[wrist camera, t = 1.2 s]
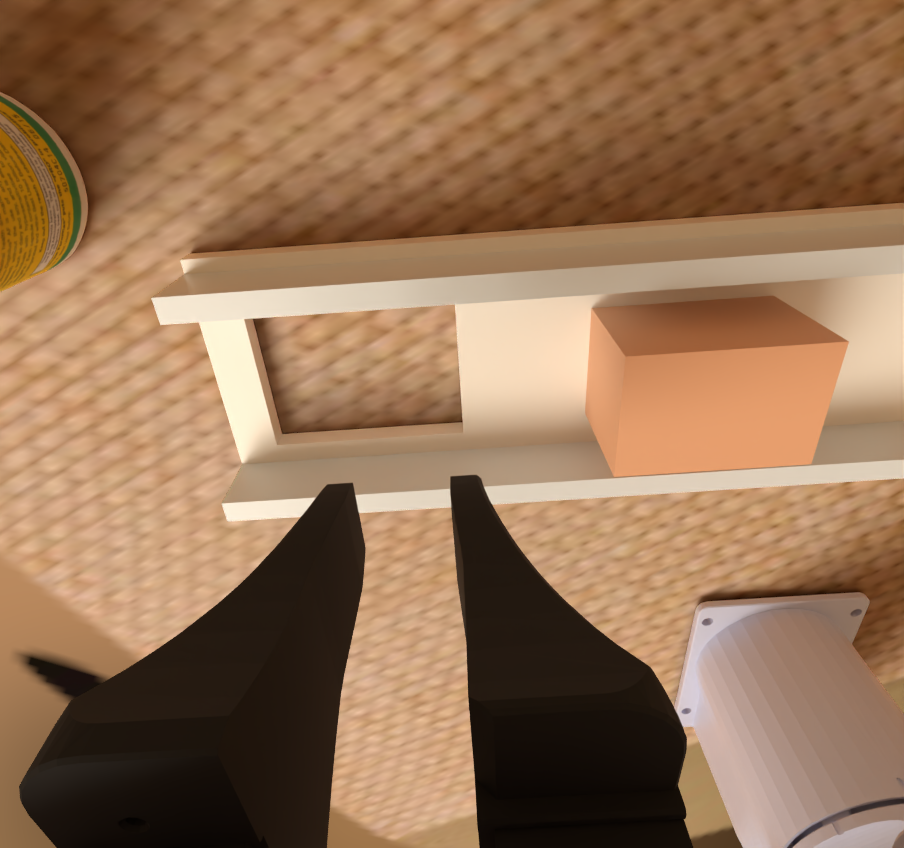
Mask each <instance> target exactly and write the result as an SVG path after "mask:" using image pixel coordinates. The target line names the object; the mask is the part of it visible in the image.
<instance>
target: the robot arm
mask: <svg viewBox="0 0 904 848" xmlns="http://www.w3.org/2000/svg"><path fill="white" fill-rule="evenodd" d="M450 497H451V509H452V521H453V533H454V545H455V557H456V569H457V581H458V588H459V595H460V602H461V608H462V615H463V622H464V628H465V635H466V642H467V670H468V698H469V710H470V723H471V735H472V747H473V759H474V772H475V787H476V805H477V824H478V833H479V845H480V848H693V846H692V843H691V840H690V837H689V834H688V831H687V828H686V825H685V822H684V819H685V818H686V808H685V805H684V802H683V799H682V796H681V793H680V790H679V788H678V782H679V778H680V774H681V770H682V766H683V762H684V758H685V754H686V746H687V737H686V735H685V733H684V729H683V727H694V729H695V732H696V734H697V737H698V739H699V742H700V744H701V747H702V749H703V752H704V754H705V757H706V759H707V762H708V764H709V767H710V769H711V772H712V774H713V777H714V779H715V782H716V784H717V787H718V789H719V792H720V794H721V797H722V799H723V802H724V804H725V807H726V809H727V812H728V814H729V817H730V819H731V822H732V824H733V827H734V829H735V832H736V834H737V836H738V838H739V840H740V842H741V844H742V846H743V848H904V713H903V712H902V711H901V709H900V708H899V707H898V705H897V704H896V703H895V701H894V700H893V699H892V697H891V696H890V695H889V693H888V692H887V691H886V689H885V688H884V687H883V685H882V684H881V683H880V681H879V680H878V679H877V677H876V676H875V675H874V673H873V672H872V671H871V669H870V668H869V667H868V665H867V664H866V663H865V661H864V660H863V659H862V657H861V656H860V655H859V653H858V652H857V651H856V649H855V648H854V647H853V645H852V643H853V641H854V638H855V636H856V634H857V631H858V629H859V627H860V625H861V622H862V620H863V618H864V615H865V613H866V611H867V609H868V606H869V604H870V601H869V599H868V598H867V597H866V595H865V594H863V593H860V592H853V593H836V594H820V595H803V596H787V597H770V598H754V599H738V600H721V601H707V602H703V603H701V604H699V605H698V606H697V608H696V610H695V615H694V620H693V624H692V629H691V633H690V638H689V643H688V647H687V652H686V656H685V661H684V666H683V670H682V675H681V679H680V684H679V688H678V693H677V698H676V702H675V707H673V705H672V703H671V701H670V699H669V697H668V695H667V693H666V692H665V690H664V688H663V686H662V685H661V683H660V681H659V680H658V678H657V677H656V675H655V673H654V672H653V670H652V669H651V667H649V666H648V665H646V664H645V663H644V662H642V661H641V660H639V659H638V658H636V657H635V656H633V655H632V654H630V653H629V652H627V651H626V650H624V649H623V648H621V647H620V646H618V645H617V644H616V643H614V642H613V641H612V640H610V639H609V638H608V637H607V636H605V635H604V634H603V633H602V632H600V631H599V630H598V629H596V628H595V627H594V626H593V625H592V624H590V623H589V622H588V621H587V620H586V619H585V618H584V617H583V616H582V615H580V614H579V613H578V612H577V611H576V610H575V609H574V608H573V607H572V606H571V605H569V604H568V603H567V602H566V601H565V600H564V599H563V598H562V597H561V596H560V595H559V594H558V593H557V592H556V591H555V590H554V589H553V588H552V587H551V586H550V585H549V584H548V582H547V581H546V580H545V579H544V578H543V577H542V576H541V575H540V573H539V572H538V571H537V570H536V569H535V568H534V566H533V565H532V564H531V563H530V561H529V560H528V559H527V558H526V556H525V555H524V554H523V552H522V551H521V550H520V548H519V547H518V546H517V544H516V543H515V541H514V540H513V538H512V537H511V536H510V534H509V532H508V531H507V529H506V528H505V526H504V524H503V523H502V521H501V520H500V518H499V516H498V515H497V513H496V511H495V509H494V507H493V506H492V504H491V502H490V500H489V498H488V495H487V493H486V491H485V488H484V486H483V483H482V479H481V478H480V477H479V476H478V475H462V476H450ZM364 563H365V543H364V538H363V533H362V528H361V522H360V517H359V512H358V506H357V501H356V496H355V490H354V485H353V483H339V484H327V485H326V486H325V487H324V488H323V489H322V491H321V492H320V493H319V494H318V496H317V497H316V498H315V500H314V501H313V502H312V504H311V505H310V506H309V507H308V509H307V510H306V511H305V513H304V514H303V515H302V516H301V518H300V519H299V520H298V521H297V523H296V524H295V525H294V526H293V527H292V529H291V530H290V531H289V532H288V533H287V535H286V536H285V537H284V538H283V539H282V541H281V542H280V543H279V544H278V545H277V546H276V547H275V549H274V550H273V551H272V552H271V553H270V554H269V555H268V556H267V557H266V558H265V559H264V560H263V561H262V563H261V564H260V565H259V566H258V567H257V568H256V569H255V570H254V571H253V572H252V573H251V574H250V575H249V576H248V577H247V578H246V579H245V580H244V581H243V582H242V583H241V584H240V585H239V586H238V587H236V588H235V589H234V590H233V591H232V592H231V593H230V594H229V595H227V596H226V597H225V598H224V599H223V600H222V601H221V602H219V603H218V604H217V605H216V606H215V607H213V608H212V609H211V610H209V611H208V612H207V613H206V614H204V615H203V616H202V617H201V618H199V619H198V620H197V621H195V622H194V623H193V624H192V625H190V626H189V627H188V628H186V629H185V630H184V631H183V632H181V633H180V634H178V635H177V636H176V637H174V638H173V639H171V640H170V641H168V642H167V643H166V644H164V645H163V646H161V647H160V648H158V649H157V650H155V651H154V652H152V653H151V654H149V655H148V656H146V657H145V658H143V659H142V660H140V661H138V662H137V663H135V664H134V665H132V666H130V667H129V668H127V669H126V670H124V671H122V672H121V673H119V674H117V675H115V676H114V677H112V678H110V679H108V680H107V681H105V682H103V683H101V684H100V685H98V686H96V687H95V688H93V689H91V690H89V691H88V692H86V693H84V694H82V695H80V696H79V697H77V698H75V699H73V700H71V702H70V703H69V704H68V706H67V707H66V709H65V710H64V712H63V714H62V715H61V717H60V718H59V720H58V721H57V723H56V724H55V726H54V728H53V729H52V731H51V733H50V734H49V736H48V738H47V739H46V741H45V743H44V744H43V746H42V748H41V749H40V751H39V753H38V754H37V756H36V758H35V760H34V761H33V763H32V765H31V766H30V768H29V770H28V771H27V773H26V775H25V777H24V778H23V780H22V782H21V784H20V786H19V789H20V799H21V802H22V804H23V806H24V808H25V809H26V811H27V813H28V814H29V816H30V817H31V818H32V819H33V820H34V822H35V823H36V824H37V825H38V826H39V827H40V829H41V830H42V831H43V832H44V833H45V835H46V836H47V837H48V838H49V839H50V840H51V842H53V844H54V845H55V846H56V847H57V848H327V837H328V836H327V835H328V824H329V823H328V822H329V812H330V799H331V786H332V775H333V765H334V754H335V744H336V734H337V724H338V715H339V706H340V697H341V690H342V684H343V678H344V673H345V668H346V663H347V659H348V654H349V649H350V645H351V640H352V635H353V630H354V626H355V621H356V616H357V612H358V607H359V602H360V597H361V592H362V586H363V575H364Z"/></svg>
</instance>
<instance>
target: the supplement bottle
mask: <svg viewBox="0 0 904 848" xmlns="http://www.w3.org/2000/svg"><path fill="white" fill-rule="evenodd" d="M87 215H88V198H87V194H86V189H85V184H84V181H83V178H82V176H81V173H80V170H79V168H78V166H77V164H76V162H75V160H74V158H73V157H72V155H71V153H70V152H69V150H68V148H67V147H66V146H65V144H64V143H63V141H62V140H61V139H60V138H59V136H58V135H57V134H56V132H55V131H54V130H53V129H52V128H51V127H50V126H49V125H48V124H47V123H45V122H44V121H43V119H42V118H40V117H39V116H38V115H37V114H36V113H34V112H33V111H32V110H30V109H29V108H27V107H26V106H24V105H23V104H21V103H20V102H18V101H17V100H15V99H13V98H12V97H10V96H8V95H6V94H4V93H1V92H0V292H2V291H4V290H6V289H8V288H10V287H13V286H15V285H17V284H19V283H21V282H24V281H26V280H28V279H30V278H33V277H35V276H37V275H39V274H41V273H44V272H46V271H48V270H50V269H52V268H54V267H56V266H58V265H59V264H61V263H62V262H64V261H65V260H66V259H68V258H69V257H70V256H71V255H72V254H73V253H74V251H75V250H76V248H77V246H78V244H79V242H80V241H81V239H82V236H83V233H84V230H85V226H86V222H87Z"/></svg>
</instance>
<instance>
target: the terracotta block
mask: <svg viewBox="0 0 904 848" xmlns="http://www.w3.org/2000/svg"><path fill="white" fill-rule="evenodd" d="M848 344H849V341H847V340H846V339H844V338H842V337H841V336H839V335H838V334H836V333H834V332H833V331H831V330H829V329H828V328H826V327H824V326H823V325H821V324H819V323H818V322H816V321H815V320H813V319H811V318H810V317H808V316H806V315H805V314H803V313H801V312H800V311H798V310H796V309H795V308H793V307H791V306H790V305H788V304H787V303H785V302H783V301H782V300H780V299H778V298H777V297H775V296H760V297H746V298H731V299H717V300H702V301H688V302H673V303H659V304H644V305H630V306H615V307H601V308H591V323H590V339H589V356H588V372H587V388H586V405H585V414H586V417H587V419H588V421H589V423H590V425H591V428H592V430H593V432H594V434H595V436H596V439H597V441H598V443H599V445H600V447H601V449H602V452H603V454H604V456H605V458H606V460H607V463H608V465H609V467H610V469H611V471H612V474H613V476H614V477H620V476H636V475H651V474H667V473H682V472H698V471H713V470H729V469H744V468H760V467H775V466H791V465H806V464H812V460H813V457H814V454H815V451H816V447H817V444H818V441H819V438H820V434H821V431H822V428H823V425H824V421H825V418H826V415H827V412H828V408H829V405H830V402H831V399H832V395H833V392H834V389H835V386H836V382H837V379H838V376H839V373H840V370H841V366H842V363H843V360H844V357H845V353H846V350H847V347H848Z"/></svg>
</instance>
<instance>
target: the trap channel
mask: <svg viewBox="0 0 904 848" xmlns="http://www.w3.org/2000/svg"><path fill="white" fill-rule="evenodd" d="M180 261H181V265H182V268H183V271H184V275H183V276H181V277H180V278H178V279H177V280H176V281H174V282H173V283H171V284H170V285H169V286H167V287H166V288H164V289H163V290H162V291H160V292H159V293H157V294H156V295H155V296H153V297H152V301H153V304H154V307H155V310H156V313H157V316H158V319H159V322H160V325H167V324H182V323H196V322H199V324H200V327H201V330H202V334H203V337H204V340H205V344H206V347H207V350H208V353H209V357H210V360H211V363H212V366H213V370H214V373H215V376H216V380H217V383H218V386H219V389H220V393H221V396H222V399H223V403H224V406H225V409H226V412H227V416H228V419H229V422H230V426H231V429H232V432H233V435H234V439H235V442H236V445H237V449H238V452H239V455H240V458H241V462H242V466H241V468H240V470H239V471H238V473H237V475H236V477H235V479H234V481H233V483H232V485H231V487H230V488H229V490H228V492H227V494H226V496H225V498H224V500H223V502H222V506H223V509H224V512H225V515H226V518H227V521H244V520H259V519H275V518H290V517H301V516H302V515H303V514H304V513H305V511H306V510H307V509H308V507H309V506H310V505H311V504H312V502H313V501H314V500H315V498H316V497H317V496H318V494H319V493H320V492H321V491H322V489H323V488H324V487H325V486H326V485H327V484H339V483H353V485H354V490H355V496H356V501H357V506H358V512H359V513H369V512H384V511H400V510H416V509H431V508H447V507H451V497H450V476H462V475H478V476H479V477H480V478H481V479H482V483H483V486H484V488H485V491H486V493H487V495H488V498H489V500H490V502H491V504H492V505H494V504H509V503H525V502H541V501H556V500H572V499H588V498H603V497H619V496H635V495H650V494H666V493H682V492H697V491H713V490H728V489H744V488H760V487H775V486H791V485H807V484H822V483H838V482H854V481H869V480H885V479H901V478H904V203H892V204H878V205H864V206H850V207H836V208H822V209H808V210H794V211H780V212H766V213H752V214H738V215H724V216H710V217H696V218H682V219H668V220H654V221H640V222H626V223H612V224H598V225H584V226H570V227H556V228H542V229H528V230H514V231H500V232H486V233H472V234H458V235H444V236H430V237H416V238H402V239H388V240H374V241H360V242H346V243H332V244H318V245H304V246H290V247H276V248H262V249H248V250H234V251H220V252H206V253H192V254H188V255H187V256H185V257H184V258H182V259H181V260H180ZM760 296H775V297H777V298H778V299H780V300H782V301H783V302H785V303H787V304H788V305H790V306H791V307H793V308H795V309H796V310H798V311H800V312H801V313H803V314H805V315H806V316H808V317H810V318H811V319H813V320H815V321H816V322H818V323H819V324H821V325H823V326H824V327H826V328H828V329H829V330H831V331H833V332H834V333H836V334H838V335H839V336H841V337H842V338H844V339H846V340H847V341H849V344H848V347H847V350H846V353H845V357H844V360H843V363H842V366H841V370H840V373H839V376H838V379H837V382H836V386H835V389H834V392H833V395H832V399H831V402H830V405H829V408H828V412H827V415H826V418H825V421H824V425H823V428H822V431H821V434H820V438H819V441H818V444H817V447H816V451H815V454H814V457H813V460H812V464H806V465H791V466H775V467H760V468H744V469H729V470H713V471H698V472H682V473H667V474H651V475H636V476H620V477H614V476H613V474H612V471H611V469H610V467H609V465H608V463H607V460H606V458H605V456H604V454H603V452H602V449H601V447H600V445H599V443H598V441H597V439H596V436H595V434H594V432H593V430H592V428H591V425H590V423H589V421H588V419H587V417H586V414H585V405H586V388H587V372H588V356H589V339H590V323H591V308H601V307H615V306H630V305H644V304H659V303H673V302H688V301H702V300H717V299H731V298H746V297H760ZM441 305H455V311H456V327H457V342H458V358H459V374H460V389H461V405H462V420H463V422H456V423H441V424H426V425H411V426H396V427H381V428H366V429H351V430H336V431H320V432H305V433H290V434H282V432H281V428H280V424H279V420H278V416H277V412H276V408H275V404H274V400H273V396H272V392H271V389H270V385H269V381H268V377H267V373H266V369H265V365H264V361H263V357H262V353H261V349H260V345H259V341H258V337H257V333H256V329H255V325H254V321H253V319H254V318H268V317H283V316H297V315H311V314H326V313H340V312H355V311H369V310H383V309H398V308H412V307H427V306H441Z"/></svg>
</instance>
